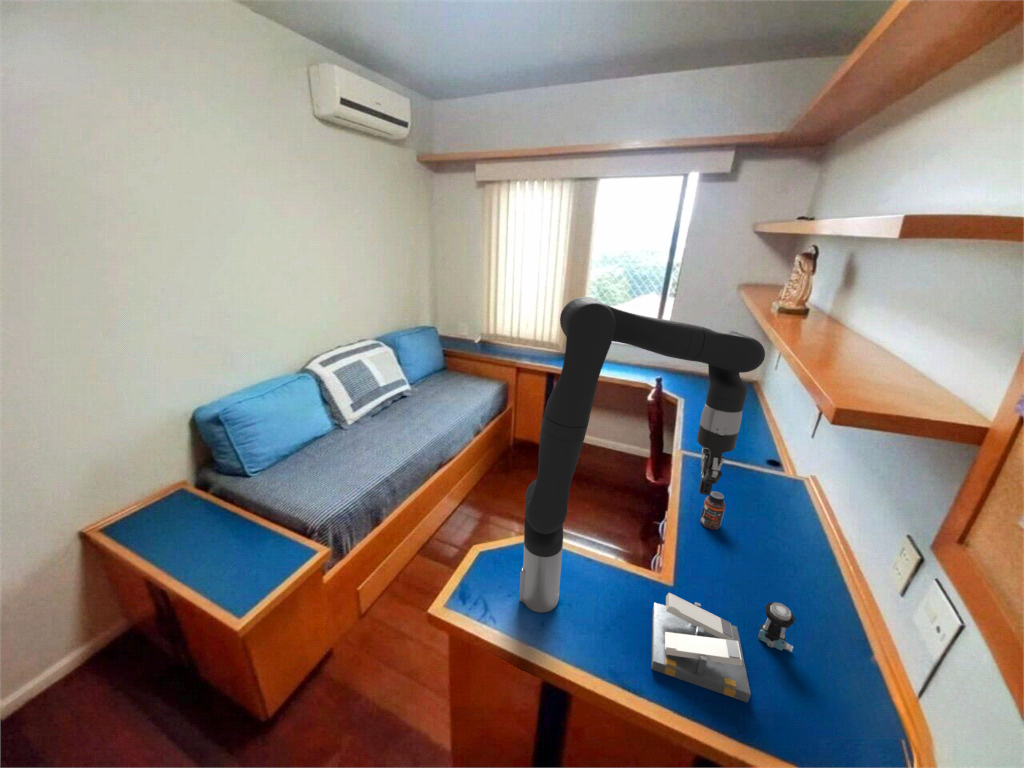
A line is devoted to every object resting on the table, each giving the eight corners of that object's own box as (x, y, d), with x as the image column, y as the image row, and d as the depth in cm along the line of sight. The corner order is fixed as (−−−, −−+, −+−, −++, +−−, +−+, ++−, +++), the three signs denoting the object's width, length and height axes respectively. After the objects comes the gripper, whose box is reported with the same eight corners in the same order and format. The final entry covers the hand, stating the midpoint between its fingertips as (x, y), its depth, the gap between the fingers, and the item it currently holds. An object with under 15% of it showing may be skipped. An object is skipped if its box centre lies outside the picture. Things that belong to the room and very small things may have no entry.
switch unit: (651, 670, 81) (656, 647, 79) (652, 610, 94) (656, 589, 92) (747, 703, 75) (756, 680, 73) (734, 634, 89) (741, 613, 86)
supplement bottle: (701, 528, 122) (707, 498, 119) (698, 516, 128) (704, 487, 124) (721, 532, 121) (729, 502, 117) (718, 520, 126) (725, 491, 122)
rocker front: (666, 654, 81) (665, 647, 80) (665, 637, 84) (664, 631, 84) (742, 665, 75) (741, 658, 75) (738, 647, 79) (737, 640, 78)
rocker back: (666, 611, 86) (669, 606, 86) (665, 596, 90) (669, 591, 89) (729, 643, 83) (733, 638, 83) (726, 627, 87) (730, 622, 86)
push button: (792, 643, 87) (804, 611, 84) (790, 662, 83) (803, 629, 80) (758, 626, 91) (768, 594, 87) (755, 643, 87) (765, 611, 83)
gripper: (697, 410, 90) (685, 474, 96) (703, 435, 78) (688, 506, 84) (733, 416, 87) (718, 480, 93) (745, 442, 76) (726, 514, 82)
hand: (704, 492), depth 89 cm, fingers closed
